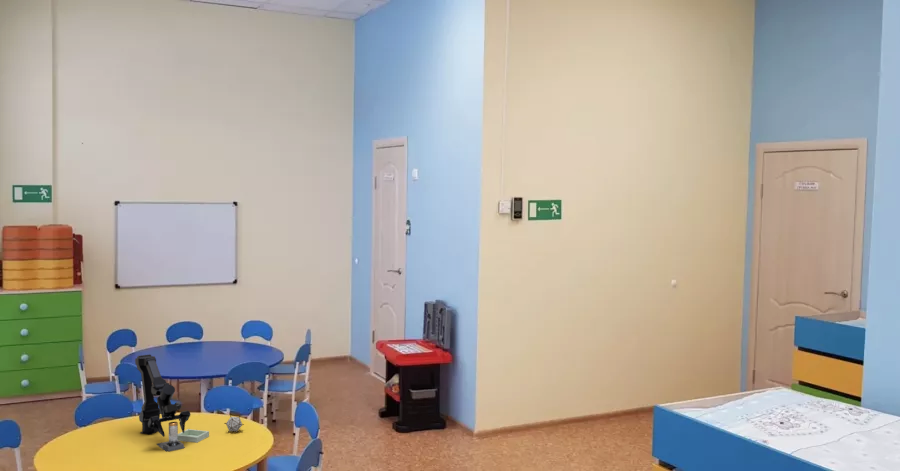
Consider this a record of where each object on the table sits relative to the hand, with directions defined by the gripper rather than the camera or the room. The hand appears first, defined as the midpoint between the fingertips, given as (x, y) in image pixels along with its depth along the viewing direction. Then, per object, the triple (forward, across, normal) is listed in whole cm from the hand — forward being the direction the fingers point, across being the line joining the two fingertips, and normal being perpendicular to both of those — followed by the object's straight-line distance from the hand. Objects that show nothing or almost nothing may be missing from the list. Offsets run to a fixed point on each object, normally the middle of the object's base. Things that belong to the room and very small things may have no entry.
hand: (174, 434), depth 358 cm
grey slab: (+2, 0, +9) cm, 9 cm away
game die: (-1, +34, +12) cm, 36 cm away
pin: (+4, 0, +6) cm, 7 cm away
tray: (-1, +12, +12) cm, 17 cm away
